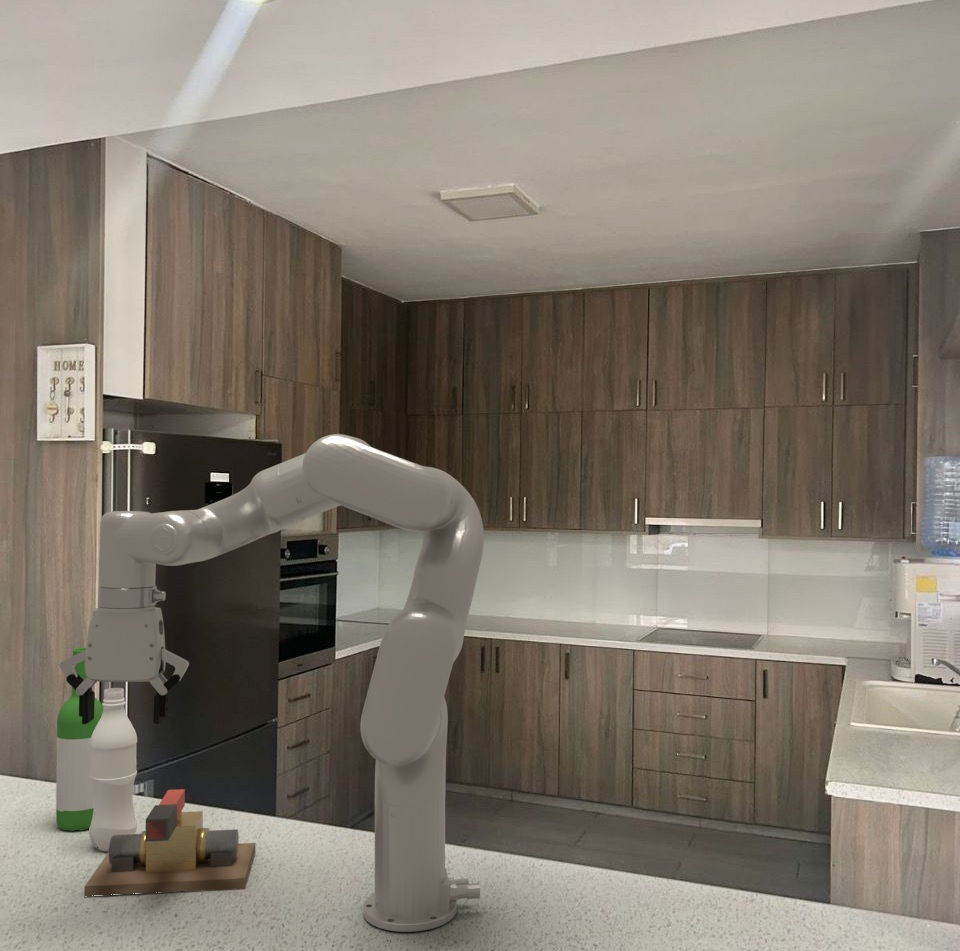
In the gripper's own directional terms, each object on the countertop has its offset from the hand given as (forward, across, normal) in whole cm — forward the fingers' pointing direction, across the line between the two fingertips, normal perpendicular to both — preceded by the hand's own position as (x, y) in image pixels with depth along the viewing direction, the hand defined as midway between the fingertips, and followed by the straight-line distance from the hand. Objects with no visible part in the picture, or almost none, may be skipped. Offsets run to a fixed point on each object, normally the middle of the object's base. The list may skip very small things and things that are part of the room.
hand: (123, 721), depth 133 cm
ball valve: (+23, -6, -9) cm, 25 cm away
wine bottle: (+25, +15, -32) cm, 43 cm away
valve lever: (+16, -6, -3) cm, 17 cm away
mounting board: (+25, -6, -9) cm, 27 cm away
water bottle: (+25, +7, -21) cm, 34 cm away
